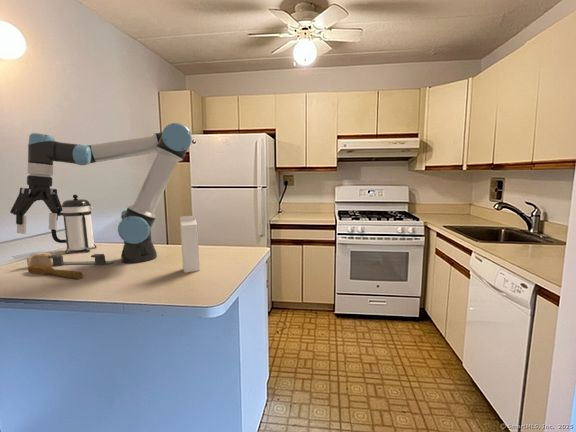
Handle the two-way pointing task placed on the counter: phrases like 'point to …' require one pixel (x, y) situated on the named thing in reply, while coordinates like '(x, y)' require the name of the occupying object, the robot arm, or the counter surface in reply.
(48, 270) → the tap handle
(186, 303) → the counter surface
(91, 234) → the coffee press
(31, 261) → the board
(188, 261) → the milk
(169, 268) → the counter surface
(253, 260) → the counter surface
